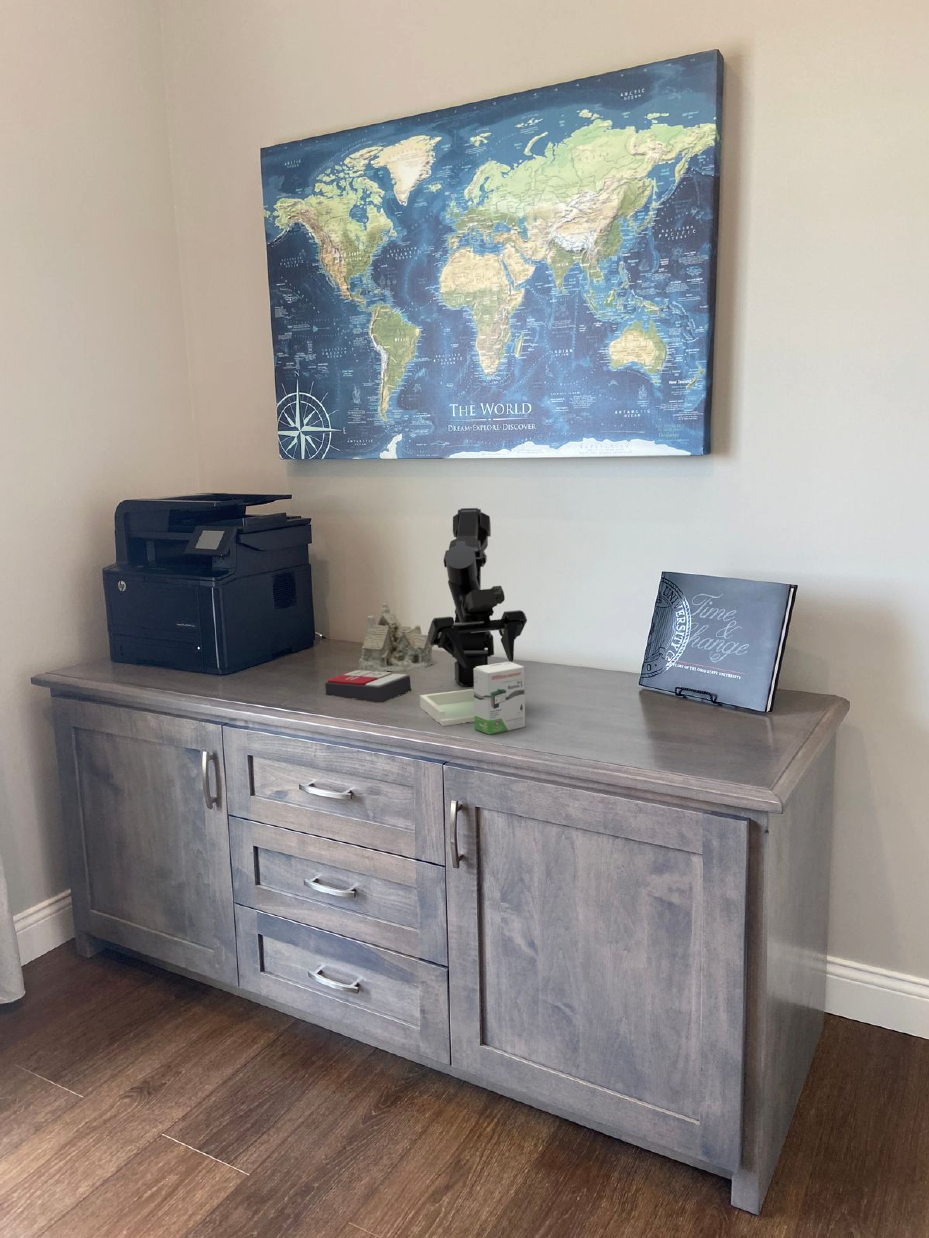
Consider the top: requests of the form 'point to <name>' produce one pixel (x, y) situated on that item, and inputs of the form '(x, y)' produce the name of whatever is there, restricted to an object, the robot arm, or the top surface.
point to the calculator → (369, 685)
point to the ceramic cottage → (393, 645)
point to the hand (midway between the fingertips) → (489, 663)
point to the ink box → (499, 697)
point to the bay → (450, 706)
